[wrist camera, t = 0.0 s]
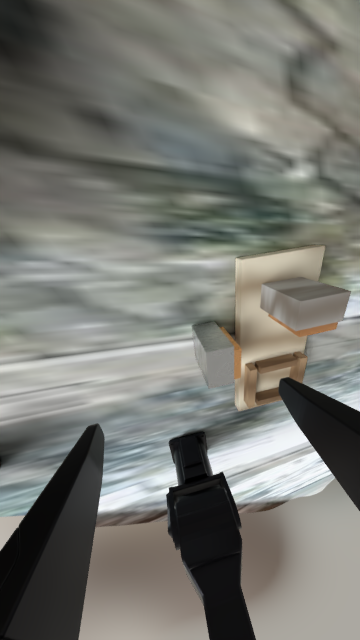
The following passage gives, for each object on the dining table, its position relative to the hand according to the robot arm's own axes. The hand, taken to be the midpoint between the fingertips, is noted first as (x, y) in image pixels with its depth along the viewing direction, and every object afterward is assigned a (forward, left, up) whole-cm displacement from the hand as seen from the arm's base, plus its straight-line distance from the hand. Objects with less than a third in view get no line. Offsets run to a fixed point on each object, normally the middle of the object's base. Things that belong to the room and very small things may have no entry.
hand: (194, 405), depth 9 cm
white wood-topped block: (-6, -5, -15) cm, 17 cm away
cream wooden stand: (-8, -14, -15) cm, 22 cm away
